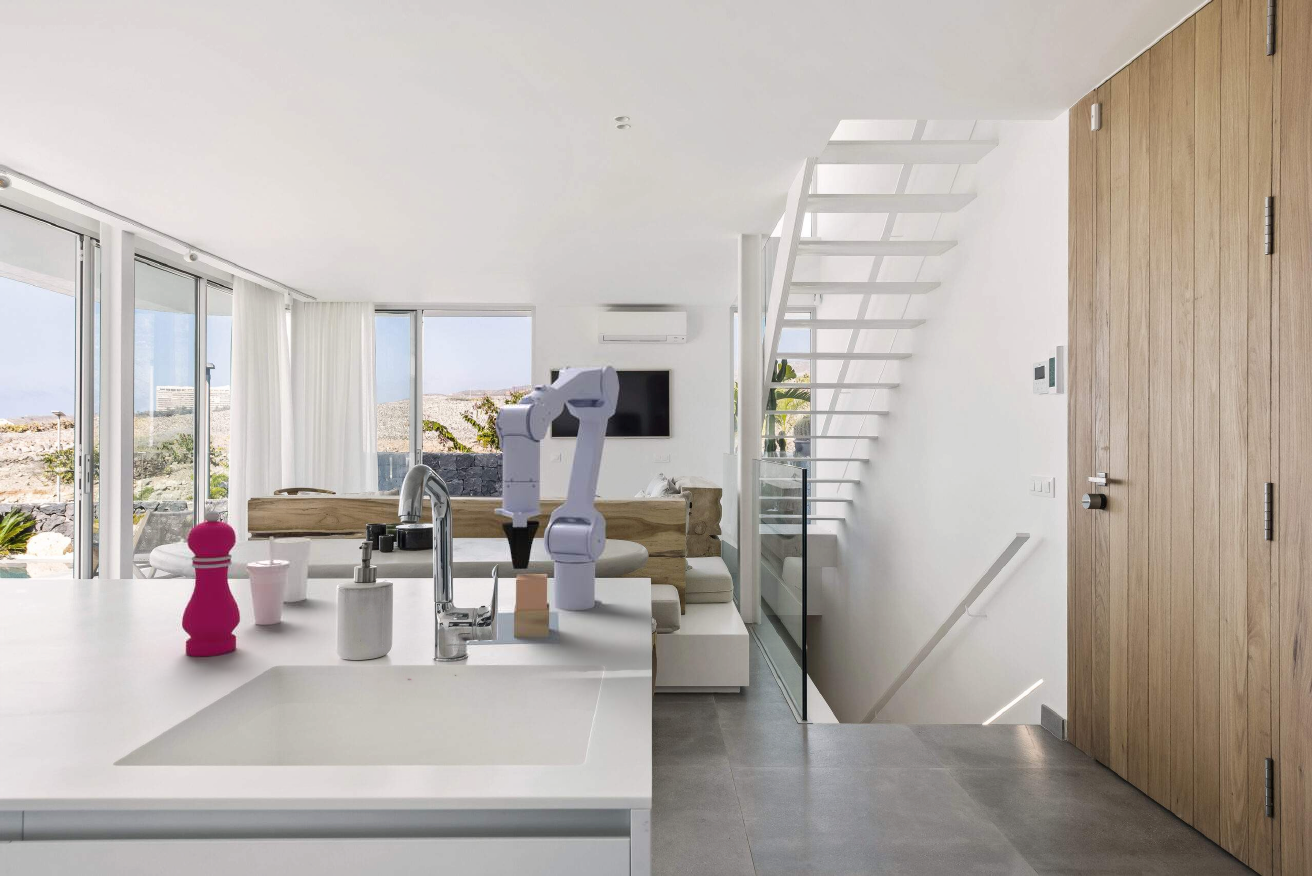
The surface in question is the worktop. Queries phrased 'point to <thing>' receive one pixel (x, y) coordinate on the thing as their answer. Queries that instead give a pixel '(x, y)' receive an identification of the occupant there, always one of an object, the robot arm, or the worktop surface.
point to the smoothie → (268, 588)
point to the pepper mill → (211, 590)
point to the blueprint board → (508, 637)
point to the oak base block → (531, 623)
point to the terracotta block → (531, 592)
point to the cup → (294, 565)
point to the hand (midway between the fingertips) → (520, 568)
